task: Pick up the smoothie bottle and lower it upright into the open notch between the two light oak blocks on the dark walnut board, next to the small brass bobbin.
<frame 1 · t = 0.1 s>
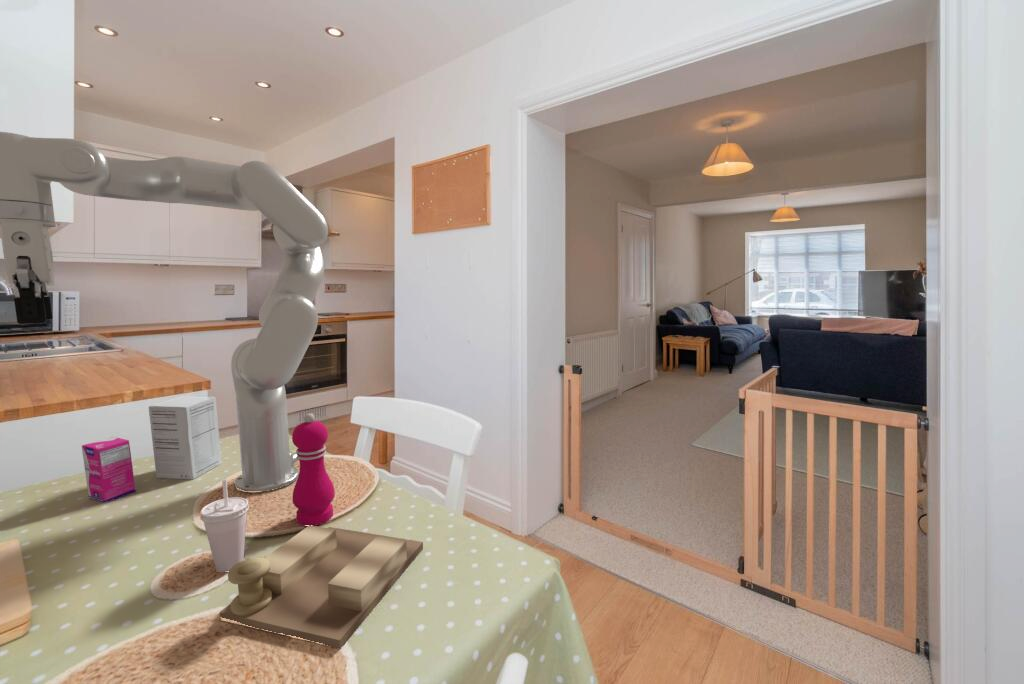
hand: (36, 321, 78), 37 cm above the table, tool pointing down, fingers open, 9 cm apart
smoothie: (229, 566, 73), on the table
supplement box: (112, 496, 97), on the table
pepper mill: (315, 518, 87), on the table
supplement box 2: (190, 471, 109), on the table
notched board: (333, 580, 69), on the table
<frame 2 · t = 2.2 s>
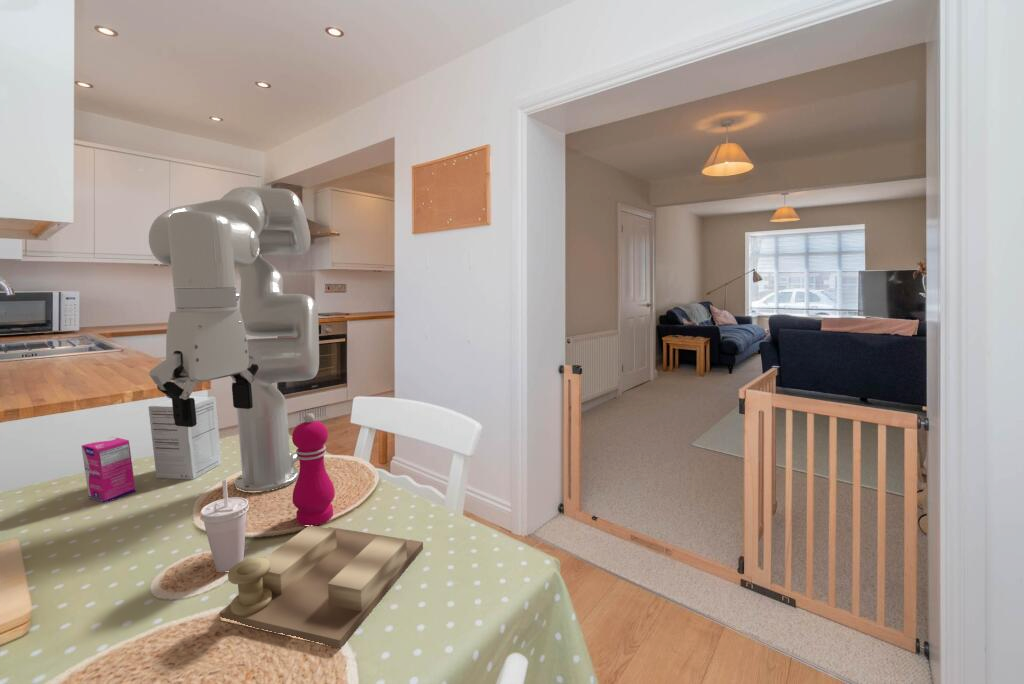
hand: (216, 416, 69), 24 cm above the table, tool pointing down, fingers open, 9 cm apart
nothing on the table moved.
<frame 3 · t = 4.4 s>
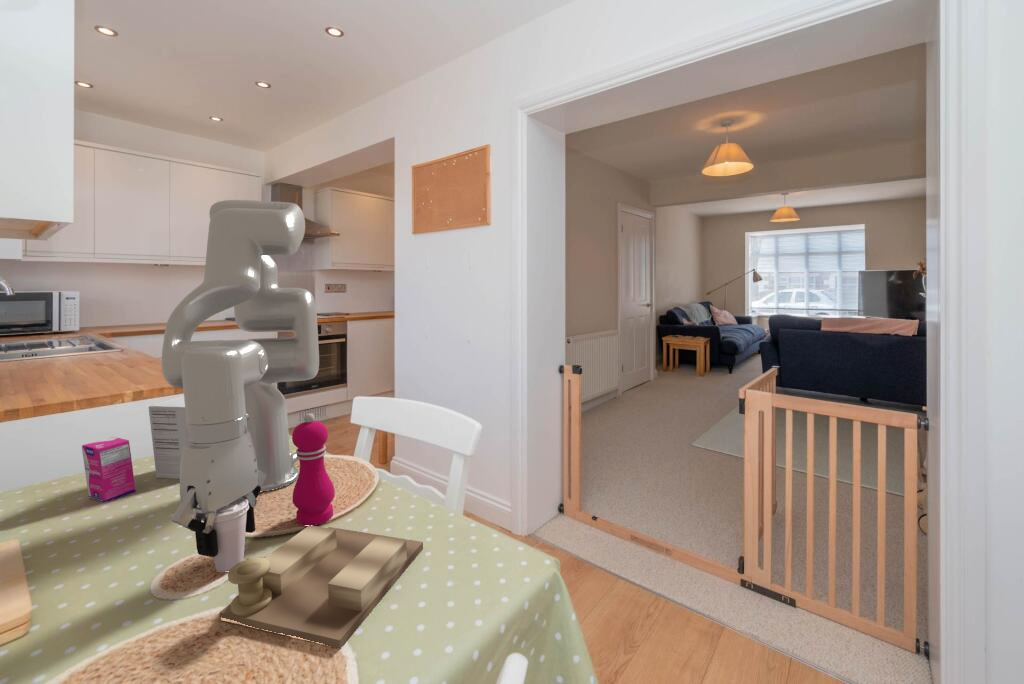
hand: (227, 541, 72), 4 cm above the table, tool pointing down, fingers closed on smoothie, 6 cm apart
smoothie: (229, 566, 73), on the table, touching gripper
everything else where it was.
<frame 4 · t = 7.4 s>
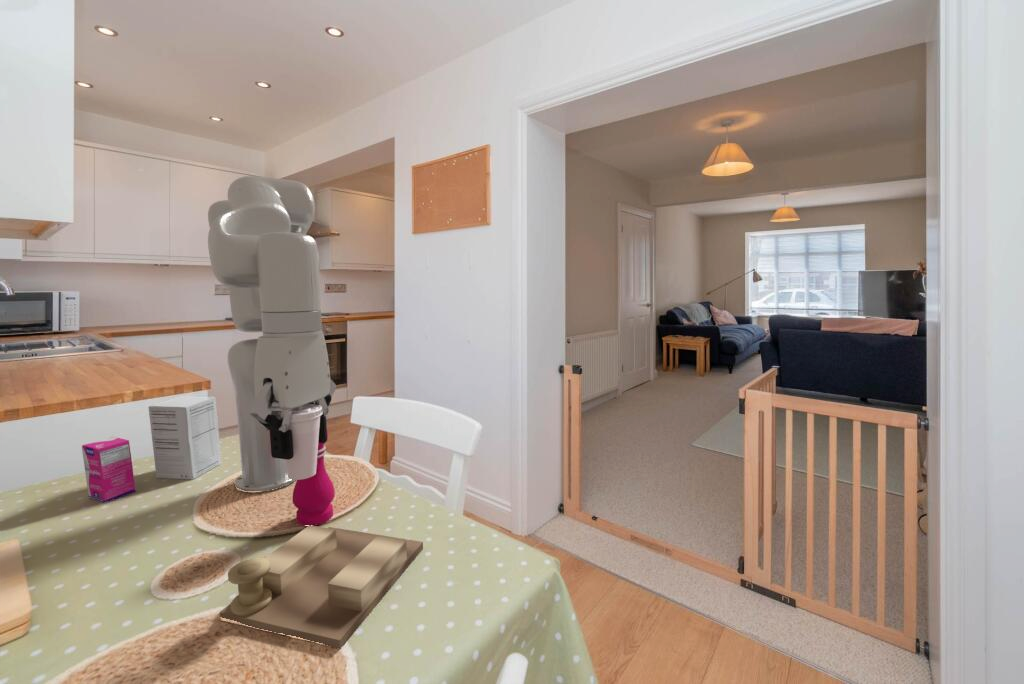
hand: (300, 448, 67), 20 cm above the table, tool pointing down, fingers closed on smoothie, 6 cm apart
smoothie: (302, 475, 67), point 16 cm above the table, touching gripper
everything else where it was.
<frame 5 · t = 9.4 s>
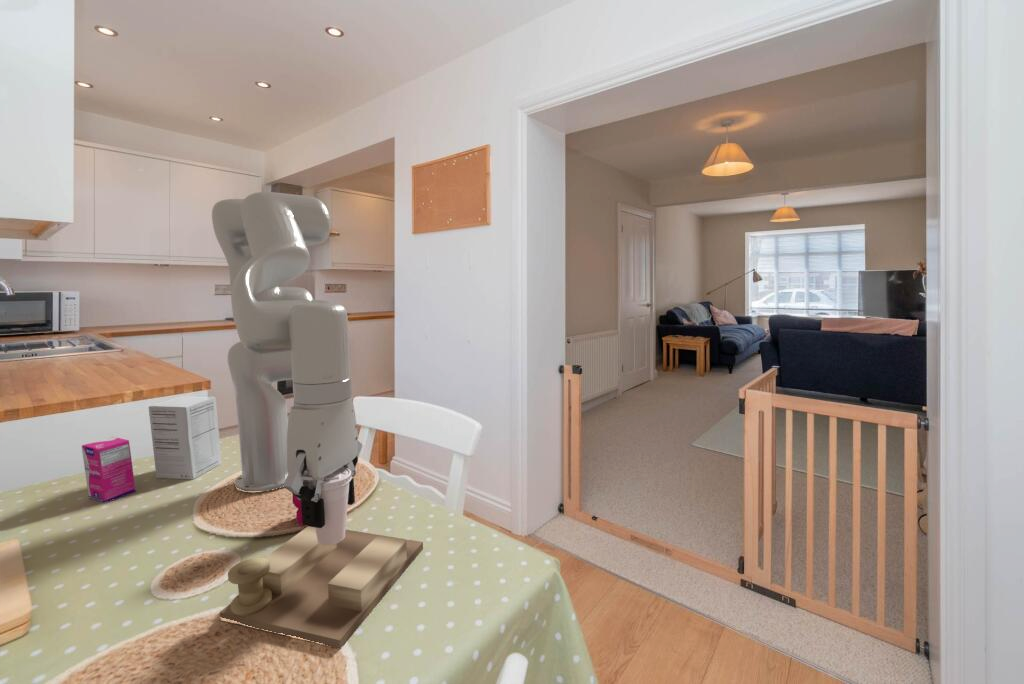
hand: (329, 512, 67), 11 cm above the table, tool pointing down, fingers closed on smoothie, 6 cm apart
smoothie: (331, 539, 68), point 6 cm above the table, touching gripper
everything else where it was.
when the fingers open (6 cm above the table, at t = 10.7 s): smoothie drops 1 cm, resting on notched board.
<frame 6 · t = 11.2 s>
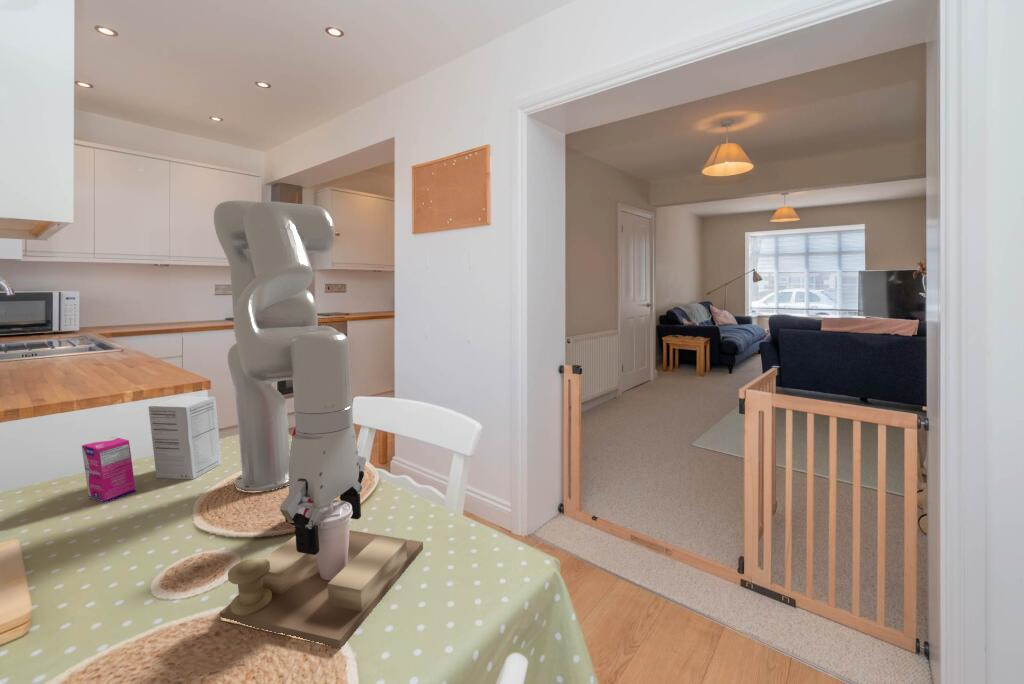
hand: (331, 533, 68), 7 cm above the table, tool pointing down, fingers open, 9 cm apart
smoothie: (333, 572, 69), point 1 cm above the table, touching notched board
everything else where it was.
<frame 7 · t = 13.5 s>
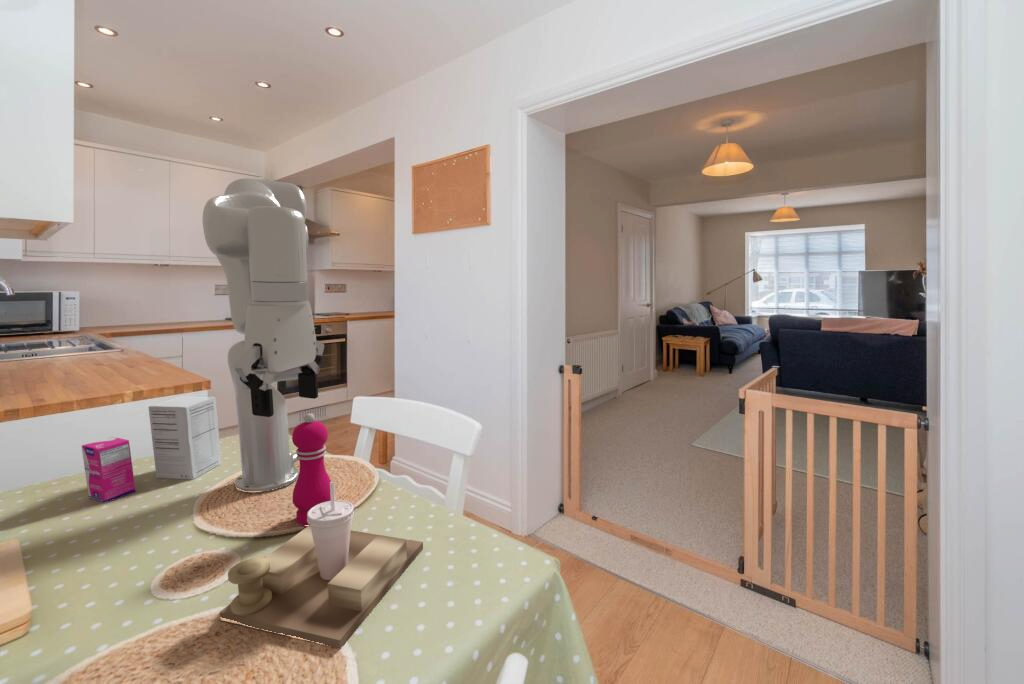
hand: (287, 406, 72), 25 cm above the table, tool pointing down, fingers open, 9 cm apart
nothing on the table moved.
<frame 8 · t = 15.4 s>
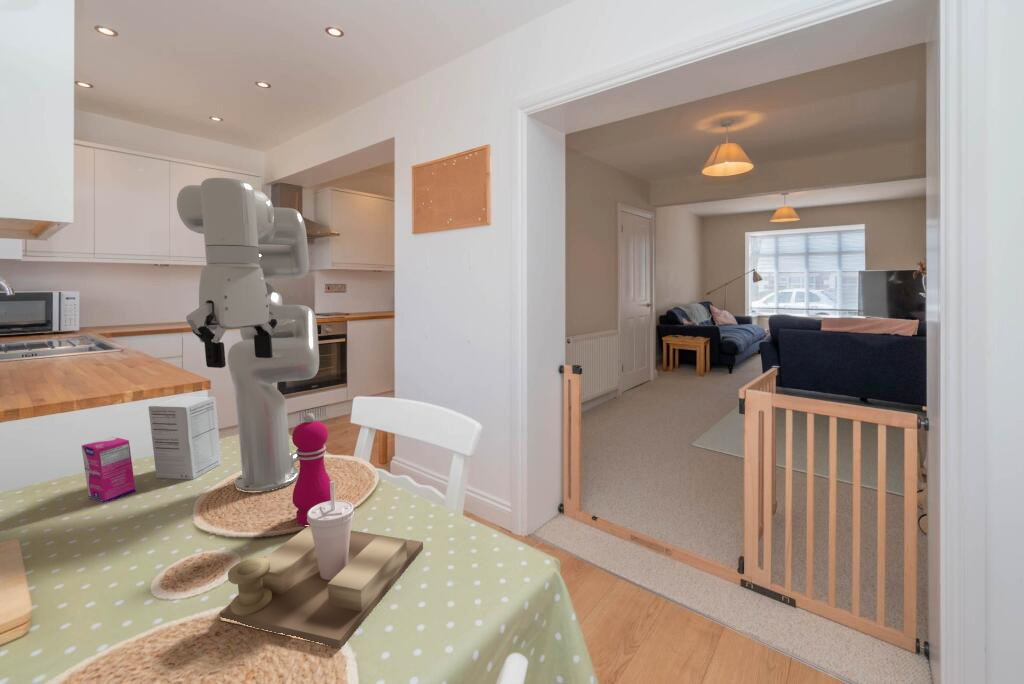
hand: (241, 362, 78), 30 cm above the table, tool pointing down, fingers open, 9 cm apart
nothing on the table moved.
at the end: smoothie 0.2 cm off-centre on the notched board, point 1.0 cm above the notched board's base; smoothie tilted 1°; the gripper is holding nothing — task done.
